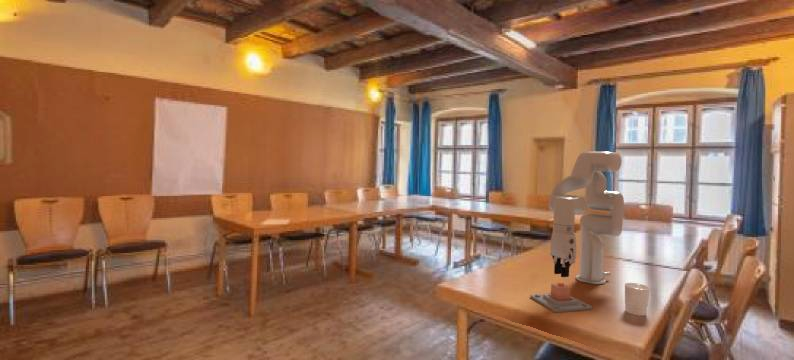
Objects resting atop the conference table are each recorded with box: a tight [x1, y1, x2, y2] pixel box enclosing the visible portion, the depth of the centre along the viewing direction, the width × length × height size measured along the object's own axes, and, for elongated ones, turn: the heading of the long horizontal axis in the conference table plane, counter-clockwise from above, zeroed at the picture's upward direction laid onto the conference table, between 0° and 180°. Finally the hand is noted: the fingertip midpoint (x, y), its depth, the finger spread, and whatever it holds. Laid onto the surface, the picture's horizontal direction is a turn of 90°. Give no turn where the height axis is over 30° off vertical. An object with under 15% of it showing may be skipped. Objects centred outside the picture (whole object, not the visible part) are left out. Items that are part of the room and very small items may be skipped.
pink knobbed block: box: [550, 282, 572, 301], centre depth 154 cm, size 5×5×7 cm
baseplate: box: [529, 293, 593, 313], centre depth 155 cm, size 16×16×2 cm
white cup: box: [624, 282, 651, 317], centre depth 146 cm, size 8×8×10 cm
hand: (561, 274), depth 154 cm, fingers open, 3 cm apart
